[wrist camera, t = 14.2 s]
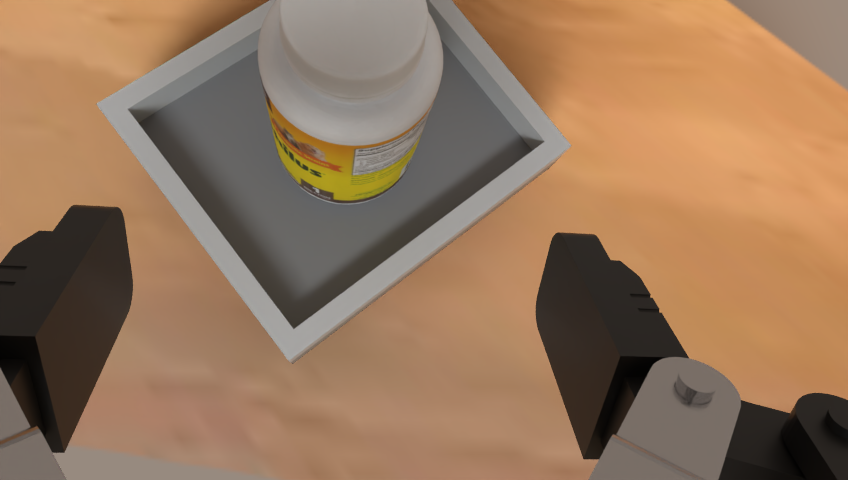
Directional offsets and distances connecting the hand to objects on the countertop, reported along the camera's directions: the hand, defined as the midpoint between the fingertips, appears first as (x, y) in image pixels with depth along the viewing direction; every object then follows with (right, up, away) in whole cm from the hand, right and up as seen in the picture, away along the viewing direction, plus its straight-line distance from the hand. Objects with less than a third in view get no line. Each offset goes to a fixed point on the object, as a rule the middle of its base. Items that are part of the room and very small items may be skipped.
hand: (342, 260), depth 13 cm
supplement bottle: (-2, +4, +15) cm, 16 cm away
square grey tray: (-2, +4, +19) cm, 20 cm away
